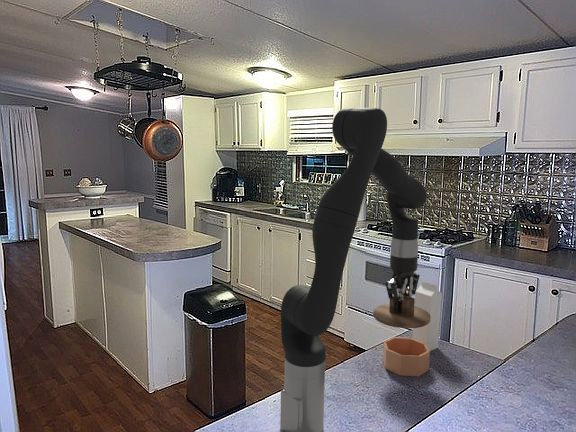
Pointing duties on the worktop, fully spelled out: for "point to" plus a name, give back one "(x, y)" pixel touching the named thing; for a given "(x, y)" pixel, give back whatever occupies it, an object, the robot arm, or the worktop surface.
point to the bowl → (406, 356)
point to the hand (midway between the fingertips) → (401, 310)
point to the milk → (430, 302)
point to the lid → (402, 314)
